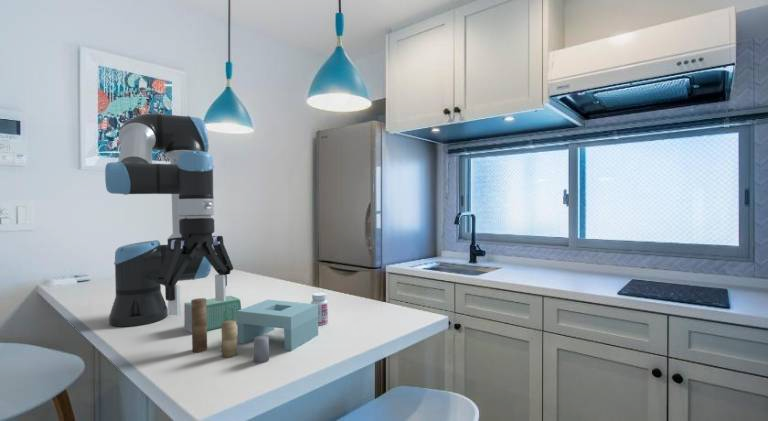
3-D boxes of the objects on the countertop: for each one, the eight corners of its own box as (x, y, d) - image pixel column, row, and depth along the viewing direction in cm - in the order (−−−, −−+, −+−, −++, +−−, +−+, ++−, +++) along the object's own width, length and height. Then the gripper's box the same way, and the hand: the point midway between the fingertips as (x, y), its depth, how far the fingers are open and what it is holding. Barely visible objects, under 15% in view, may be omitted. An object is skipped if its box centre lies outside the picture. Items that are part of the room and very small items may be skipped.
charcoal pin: (250, 362, 87) (250, 339, 87) (260, 356, 90) (260, 334, 90) (262, 364, 86) (262, 341, 86) (272, 358, 89) (271, 336, 88)
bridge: (237, 342, 99) (236, 310, 99) (268, 328, 110) (267, 299, 110) (291, 350, 93) (290, 316, 93) (318, 334, 104) (317, 304, 104)
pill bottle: (324, 326, 112) (324, 296, 111) (308, 325, 113) (308, 295, 112) (330, 321, 116) (329, 292, 116) (314, 320, 117) (314, 291, 117)
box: (242, 323, 115) (241, 297, 115) (193, 335, 106) (192, 307, 106) (231, 318, 120) (230, 294, 120) (183, 329, 111) (183, 302, 111)
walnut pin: (189, 351, 93) (188, 300, 93) (200, 346, 96) (199, 297, 96) (199, 353, 92) (198, 302, 92) (210, 348, 95) (209, 298, 95)
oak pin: (218, 356, 90) (218, 323, 90) (229, 351, 93) (228, 319, 93) (230, 358, 89) (229, 325, 89) (240, 353, 92) (239, 321, 92)
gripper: (161, 218, 81) (163, 323, 81) (246, 215, 104) (248, 296, 104) (135, 219, 83) (138, 320, 84) (223, 216, 107) (225, 295, 107)
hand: (199, 307), depth 94 cm, fingers open, 13 cm apart
